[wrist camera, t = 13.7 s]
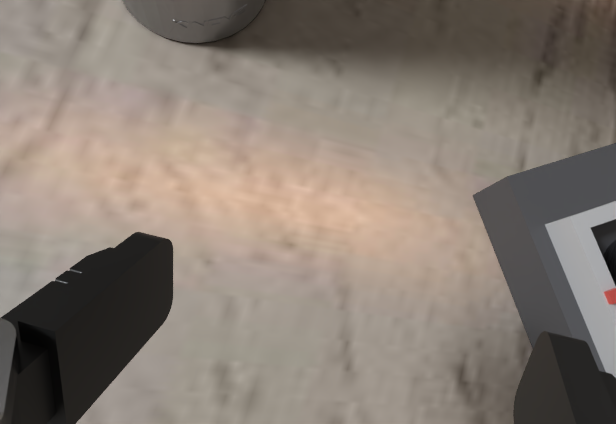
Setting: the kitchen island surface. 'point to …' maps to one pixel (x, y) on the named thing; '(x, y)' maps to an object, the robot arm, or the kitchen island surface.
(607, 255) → the thermos
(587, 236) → the tray on grey base
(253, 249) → the kitchen island surface
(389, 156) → the kitchen island surface
